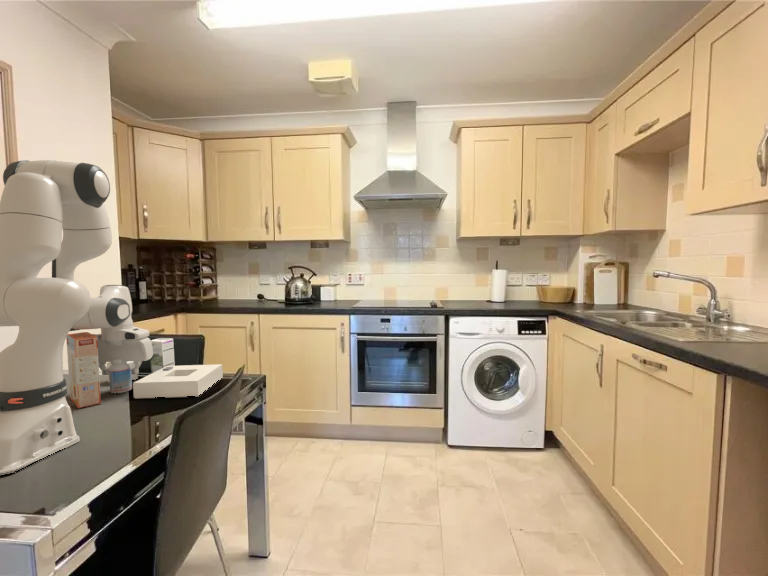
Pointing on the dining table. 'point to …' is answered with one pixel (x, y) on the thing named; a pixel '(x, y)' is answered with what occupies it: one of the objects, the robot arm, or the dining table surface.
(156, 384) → the socket block
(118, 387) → the pill bottle
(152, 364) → the syrup box
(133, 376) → the medicine bottle
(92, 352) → the cracker box
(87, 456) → the dining table surface
